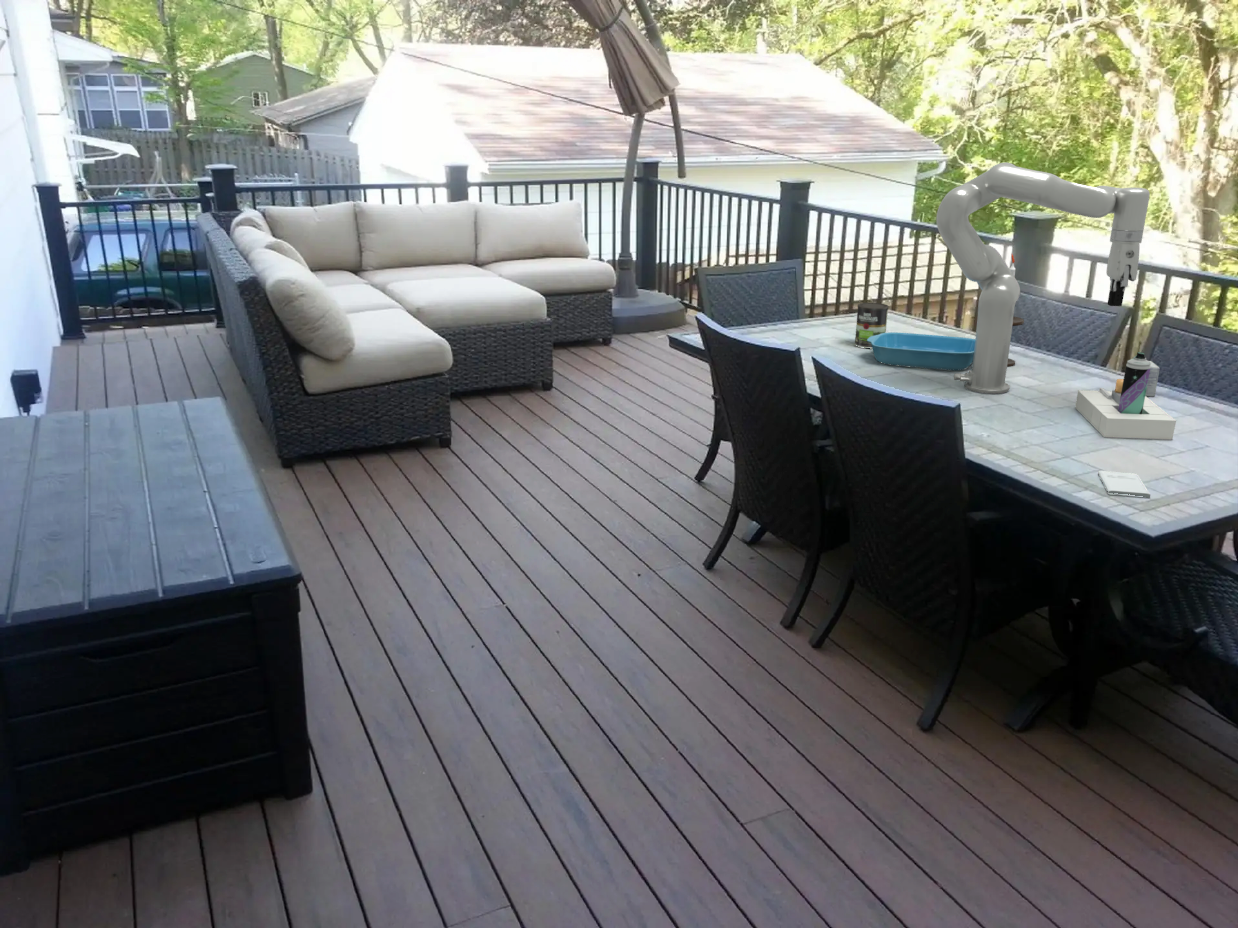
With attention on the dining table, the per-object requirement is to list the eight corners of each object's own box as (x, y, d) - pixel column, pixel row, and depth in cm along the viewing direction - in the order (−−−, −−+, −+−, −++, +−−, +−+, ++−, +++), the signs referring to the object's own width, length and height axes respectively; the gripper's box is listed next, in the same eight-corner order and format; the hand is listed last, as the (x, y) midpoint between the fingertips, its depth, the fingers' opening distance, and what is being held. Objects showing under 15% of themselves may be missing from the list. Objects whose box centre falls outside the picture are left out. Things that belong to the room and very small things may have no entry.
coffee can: (878, 350, 327) (882, 309, 322) (849, 346, 332) (852, 306, 327) (889, 344, 335) (893, 304, 330) (861, 341, 340) (864, 301, 335)
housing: (1104, 437, 241) (1108, 414, 239) (1075, 407, 265) (1078, 386, 262) (1172, 439, 239) (1177, 416, 237) (1137, 409, 262) (1141, 388, 260)
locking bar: (1119, 405, 249) (1123, 385, 248) (1111, 397, 256) (1114, 378, 254) (1132, 405, 249) (1135, 386, 247) (1123, 397, 255) (1126, 379, 254)
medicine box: (1154, 397, 273) (1160, 367, 270) (1137, 396, 274) (1143, 367, 271) (1146, 389, 280) (1151, 360, 277) (1129, 389, 281) (1135, 360, 278)
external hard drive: (1107, 497, 207) (1097, 476, 218) (1149, 500, 205) (1137, 479, 216) (1108, 490, 206) (1098, 469, 218) (1150, 493, 204) (1138, 473, 216)
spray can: (1110, 425, 250) (1124, 350, 243) (1130, 424, 250) (1144, 349, 243) (1122, 432, 245) (1137, 355, 238) (1143, 431, 245) (1157, 355, 238)
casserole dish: (859, 365, 311) (860, 343, 308) (873, 349, 330) (875, 329, 327) (979, 377, 296) (982, 354, 293) (987, 360, 315) (989, 338, 312)
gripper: (1151, 240, 246) (1138, 311, 253) (1131, 233, 260) (1119, 300, 267) (1120, 240, 247) (1108, 311, 254) (1102, 232, 261) (1091, 300, 268)
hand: (1114, 305), depth 260 cm, fingers closed
